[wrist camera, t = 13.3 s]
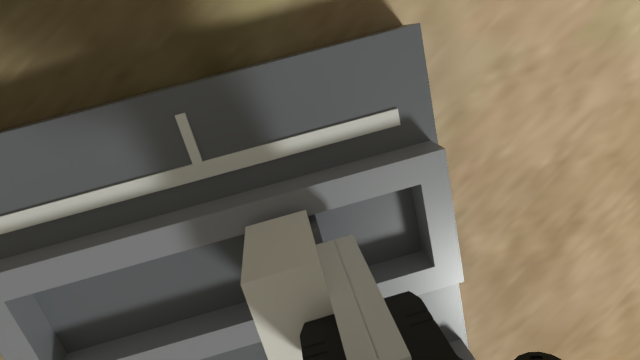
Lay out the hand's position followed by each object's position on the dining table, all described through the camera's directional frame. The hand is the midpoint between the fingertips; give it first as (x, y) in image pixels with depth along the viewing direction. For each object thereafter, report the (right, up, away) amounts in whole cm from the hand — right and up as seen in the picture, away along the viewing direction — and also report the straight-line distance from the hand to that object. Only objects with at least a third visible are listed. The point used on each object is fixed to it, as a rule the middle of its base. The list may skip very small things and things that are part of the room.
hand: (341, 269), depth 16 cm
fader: (-2, 0, +2) cm, 3 cm away
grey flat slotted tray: (-4, -4, +6) cm, 8 cm away
